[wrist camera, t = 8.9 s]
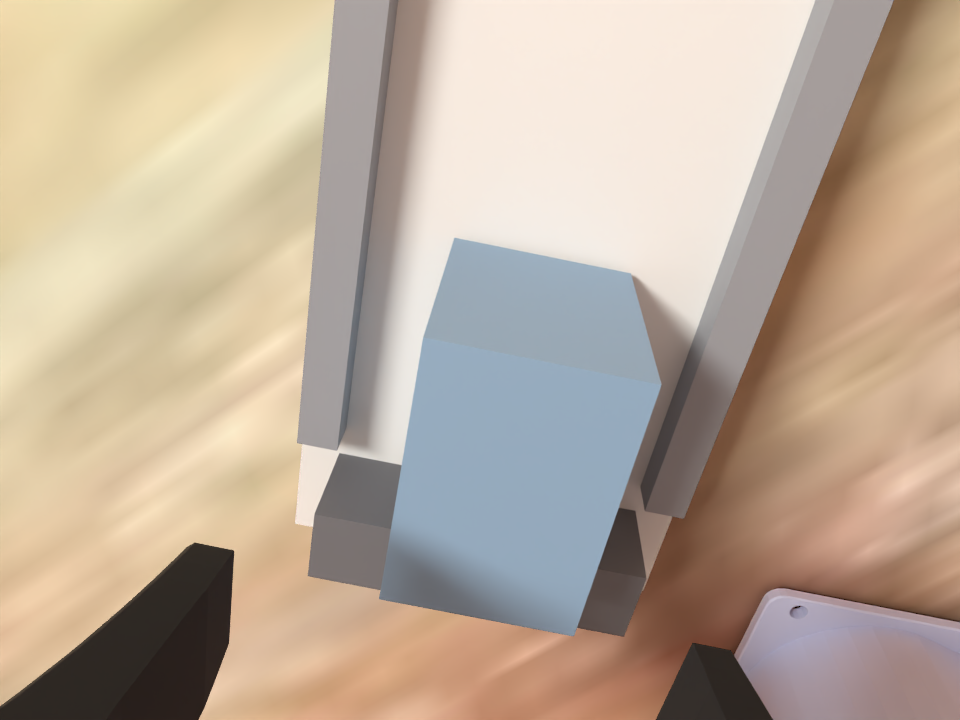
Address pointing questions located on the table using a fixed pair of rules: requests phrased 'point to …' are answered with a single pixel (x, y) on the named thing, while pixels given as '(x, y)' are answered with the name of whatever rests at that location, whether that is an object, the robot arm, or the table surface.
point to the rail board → (560, 218)
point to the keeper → (519, 437)
